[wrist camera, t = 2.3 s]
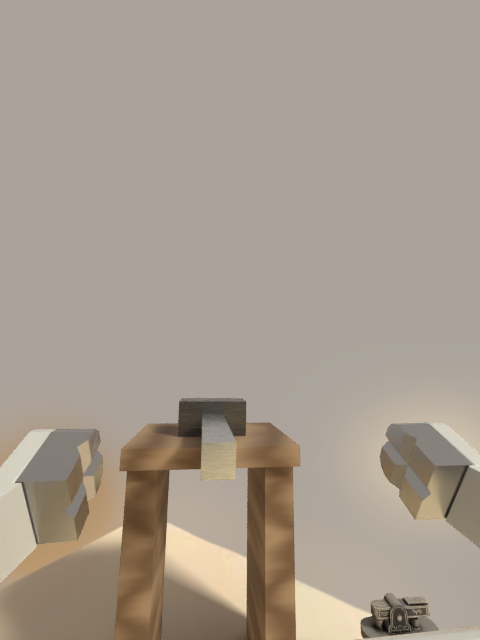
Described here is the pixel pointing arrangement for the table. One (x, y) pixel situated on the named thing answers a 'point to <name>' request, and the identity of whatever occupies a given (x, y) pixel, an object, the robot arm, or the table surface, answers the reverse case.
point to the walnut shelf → (262, 528)
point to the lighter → (397, 617)
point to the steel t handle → (214, 432)
